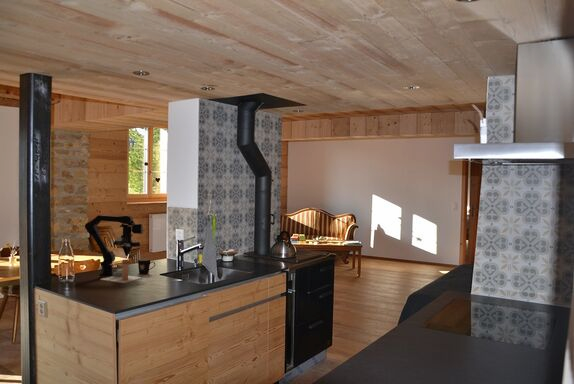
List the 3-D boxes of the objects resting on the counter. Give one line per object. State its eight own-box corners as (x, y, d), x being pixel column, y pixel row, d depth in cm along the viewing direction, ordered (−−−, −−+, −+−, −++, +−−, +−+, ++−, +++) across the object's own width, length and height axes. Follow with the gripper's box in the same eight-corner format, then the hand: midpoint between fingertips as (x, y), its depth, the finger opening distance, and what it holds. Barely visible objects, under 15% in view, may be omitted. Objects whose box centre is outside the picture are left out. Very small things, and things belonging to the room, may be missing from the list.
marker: (120, 280, 302) (121, 260, 302) (123, 279, 306) (124, 259, 306) (126, 280, 301) (126, 260, 301) (129, 279, 305) (130, 259, 305)
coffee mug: (134, 274, 328) (135, 259, 327) (143, 272, 335) (144, 258, 335) (147, 275, 322) (147, 261, 322) (156, 273, 330) (156, 259, 330)
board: (100, 279, 306) (100, 275, 306) (118, 275, 321) (118, 271, 321) (124, 283, 298) (124, 278, 298) (142, 278, 314) (142, 273, 314)
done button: (114, 275, 315) (115, 269, 315) (119, 274, 319) (119, 268, 319) (120, 276, 314) (120, 270, 314) (124, 275, 318) (124, 269, 318)
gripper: (108, 233, 321) (107, 256, 321) (129, 235, 314) (129, 258, 314) (119, 232, 331) (119, 254, 331) (140, 234, 324) (140, 256, 324)
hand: (126, 255), depth 325 cm, fingers closed
